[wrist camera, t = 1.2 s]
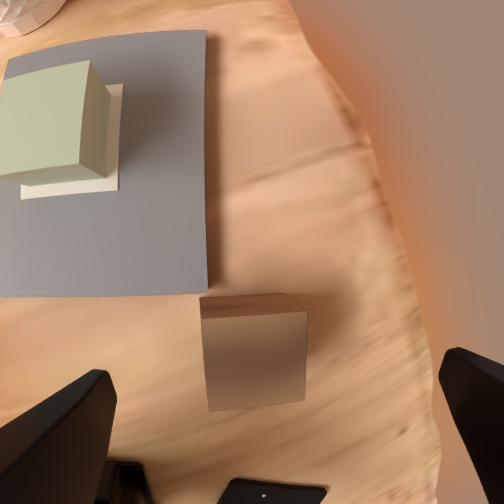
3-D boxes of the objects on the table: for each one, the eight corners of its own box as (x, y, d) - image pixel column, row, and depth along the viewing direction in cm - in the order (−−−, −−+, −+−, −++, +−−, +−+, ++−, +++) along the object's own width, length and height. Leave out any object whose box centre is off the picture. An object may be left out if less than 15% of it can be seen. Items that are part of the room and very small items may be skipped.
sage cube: (105, 178, 16) (78, 163, 12) (29, 186, 15) (-11, 177, 11) (110, 95, 16) (90, 60, 11) (37, 107, 15) (3, 80, 10)
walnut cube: (282, 367, 20) (304, 400, 16) (204, 374, 19) (209, 411, 15) (282, 292, 20) (307, 310, 15) (199, 297, 19) (201, 318, 14)
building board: (207, 289, 19) (208, 293, 18) (1, 293, 16) (-7, 297, 15) (205, 38, 17) (206, 29, 16) (14, 64, 15) (7, 58, 14)
